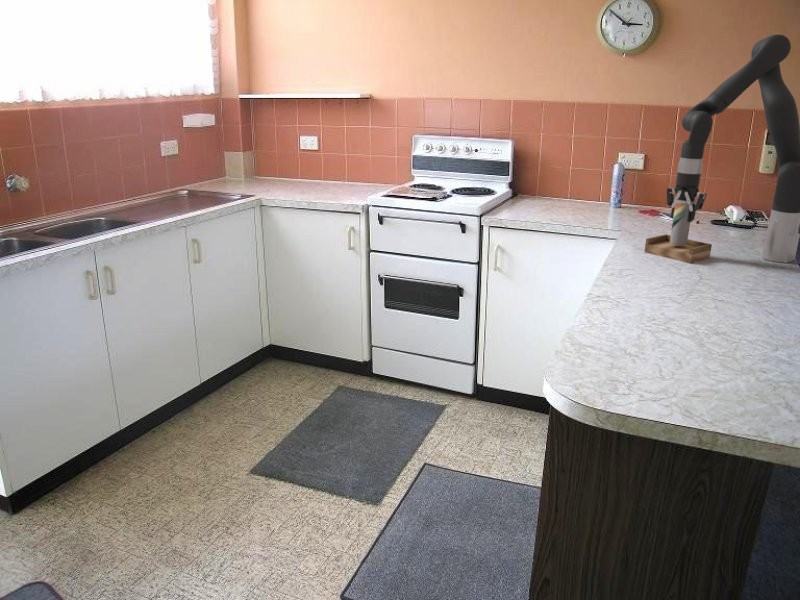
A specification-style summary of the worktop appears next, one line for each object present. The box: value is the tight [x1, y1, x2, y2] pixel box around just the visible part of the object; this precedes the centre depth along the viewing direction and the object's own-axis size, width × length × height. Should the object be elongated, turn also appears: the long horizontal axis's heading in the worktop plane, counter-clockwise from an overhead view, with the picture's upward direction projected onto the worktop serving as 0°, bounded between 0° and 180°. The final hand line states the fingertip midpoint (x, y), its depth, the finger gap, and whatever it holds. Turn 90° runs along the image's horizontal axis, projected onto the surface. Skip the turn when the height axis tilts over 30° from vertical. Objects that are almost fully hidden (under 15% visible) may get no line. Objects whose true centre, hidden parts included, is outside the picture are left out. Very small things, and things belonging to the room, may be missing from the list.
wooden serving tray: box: [644, 234, 713, 264], centre depth 236 cm, size 18×12×5 cm, turn 36°
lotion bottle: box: [670, 188, 692, 245], centre depth 233 cm, size 6×6×20 cm
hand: (682, 219), depth 233 cm, fingers closed on lotion bottle, 5 cm apart
